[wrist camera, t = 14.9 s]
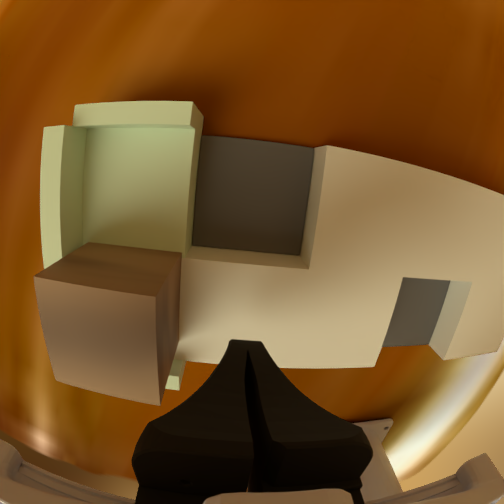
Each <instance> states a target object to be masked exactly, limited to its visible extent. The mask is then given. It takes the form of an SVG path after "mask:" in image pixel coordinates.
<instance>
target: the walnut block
mask: <svg viewBox="0 0 504 504" xmlns="http://www.w3.org/2000/svg"><path fill="white" fill-rule="evenodd" d="M181 261H182V253H181V252H172V251H163V250H154V249H146V248H137V247H128V246H119V245H111V244H102V243H93V242H88V243H86V244H84V245H83V246H81V247H79V248H78V249H76V250H74V251H73V252H71V253H70V254H68V255H66V256H65V257H63V258H61V259H60V260H58V261H57V262H55V263H53V264H52V265H50V266H49V267H47V268H46V269H44V270H43V271H41V272H40V273H38V274H36V275H35V276H34V283H35V290H36V297H37V303H38V309H39V314H40V319H41V324H42V329H43V333H44V338H45V342H46V346H47V350H48V354H49V358H50V361H51V365H52V369H53V372H54V375H55V379H56V380H57V381H60V382H63V383H66V384H69V385H73V386H76V387H80V388H83V389H87V390H90V391H94V392H98V393H102V394H106V395H110V396H114V397H119V398H123V399H128V400H133V401H138V402H143V403H148V404H154V405H159V406H160V405H161V401H162V398H163V394H164V391H165V387H166V384H167V380H168V377H169V373H170V370H171V366H172V363H173V360H174V356H175V353H176V349H177V346H178V343H179V309H180V281H181Z"/></svg>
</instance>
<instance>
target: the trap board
mask: <svg viewBox="0 0 504 504" xmlns="http://www.w3.org/2000/svg"><path fill="white" fill-rule="evenodd" d="M203 120H204V116H203V115H202V113H201V112H200V111H199V109H198V108H197V107H196V105H195V104H194V102H189V101H125V102H106V103H92V104H81V105H75V110H74V117H73V125H72V126H67V125H61V126H51V127H44V132H43V143H42V155H41V174H40V220H41V240H42V253H43V263H44V269H46V268H47V267H49V266H50V265H52V264H53V263H55V262H57V261H58V260H60V259H61V258H63V257H65V256H66V255H68V254H70V253H71V252H73V251H74V250H76V249H78V248H79V247H81V246H83V245H84V244H86V243H88V242H93V243H102V244H111V245H119V246H128V247H137V248H146V249H154V250H163V251H172V252H181V253H182V261H181V281H180V309H179V343H178V346H177V349H176V353H175V356H174V360H173V363H172V366H171V370H170V373H169V377H168V380H167V384H166V387H165V388H166V389H173V390H179V389H180V385H181V380H182V376H183V372H184V367H185V363H186V361H194V362H203V363H214V364H219V362H220V361H221V359H222V357H223V356H224V354H225V352H226V349H227V347H228V344H229V341H230V340H231V339H237V340H251V341H261V342H262V343H263V344H264V346H265V348H266V349H267V351H268V353H269V354H270V356H271V357H272V359H273V360H274V362H275V363H276V365H277V366H278V367H279V368H356V367H374V366H375V363H376V361H377V358H378V355H379V353H380V350H381V347H390V346H410V345H426V344H429V345H430V346H431V347H432V349H433V350H434V351H435V352H436V353H437V354H438V355H439V356H440V357H441V358H442V359H443V360H449V359H456V358H463V357H469V356H475V355H481V354H486V353H492V352H497V350H498V348H499V346H500V344H501V341H502V339H503V337H504V195H502V194H500V193H497V192H495V191H492V190H489V189H487V188H484V187H481V186H479V185H476V184H473V183H470V182H467V181H464V180H461V179H458V178H455V177H452V176H449V175H446V174H443V173H440V172H436V171H433V170H430V169H426V168H423V167H419V166H416V165H412V164H408V163H405V162H401V161H397V160H393V159H389V158H385V157H381V156H376V155H372V154H368V153H363V152H359V151H354V150H349V149H344V148H339V147H334V146H329V145H326V146H321V147H316V148H309V147H303V146H297V145H290V144H283V143H275V142H268V141H259V140H250V139H241V138H230V137H219V136H205V135H202V129H203ZM201 137H202V139H201ZM200 146H201V148H200ZM199 156H200V158H199ZM198 166H199V168H198ZM197 176H198V178H197ZM196 187H197V189H196ZM195 199H196V201H195ZM194 211H195V214H194ZM193 225H194V228H193ZM192 240H193V244H192Z"/></svg>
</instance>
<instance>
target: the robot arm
mask: <svg viewBox="0 0 504 504" xmlns="http://www.w3.org/2000/svg"><path fill="white" fill-rule="evenodd" d="M392 424H393V420H392V419H383V420H375V421H368V422H359V423H350V422H348V421H345V420H343V419H341V418H339V417H337V416H335V415H333V414H331V413H330V412H328V411H326V410H325V409H323V408H321V407H320V406H318V405H317V404H316V403H314V402H313V401H311V400H310V399H309V398H308V397H306V396H305V395H304V394H303V393H302V392H300V391H299V390H298V389H297V388H296V387H295V386H294V385H293V384H292V383H291V382H290V381H289V379H288V378H287V377H286V376H285V375H284V374H283V372H282V371H281V370H280V369H279V367H278V366H277V365H276V363H275V362H274V360H273V359H272V357H271V356H270V354H269V353H268V351H267V349H266V348H265V346H264V344H263V343H262V342H261V341H251V340H237V339H231V340H230V341H229V344H228V347H227V349H226V352H225V354H224V356H223V357H222V359H221V361H220V362H219V364H218V366H217V367H216V369H215V370H214V371H213V373H212V374H211V375H210V377H209V378H208V379H207V380H206V381H205V383H204V384H203V385H202V386H201V387H200V388H199V389H198V390H197V391H196V392H195V393H194V394H193V395H191V396H190V397H189V398H188V399H187V400H186V401H184V402H183V403H182V404H180V405H179V406H177V407H176V408H174V409H173V410H171V411H170V412H168V413H166V414H165V415H163V416H161V417H159V418H157V419H155V420H153V421H151V422H149V423H148V424H147V426H146V427H145V429H144V431H143V432H142V434H141V436H140V438H139V440H138V442H137V444H136V447H135V450H134V454H133V457H132V467H133V469H134V472H135V475H136V478H137V480H138V483H139V488H138V492H137V496H136V500H132V499H128V498H125V497H120V496H117V495H113V494H110V493H106V492H103V491H100V490H96V489H93V488H90V487H87V486H84V485H81V484H78V483H75V482H73V481H70V480H67V479H65V478H62V477H60V476H57V475H55V474H52V473H50V472H48V471H45V470H43V469H41V468H39V467H37V466H34V465H32V464H30V463H28V462H26V461H24V460H23V459H22V457H21V455H20V454H19V452H18V451H17V450H16V449H15V448H14V447H13V446H12V445H10V444H9V443H7V442H5V441H3V440H1V439H0V504H496V503H497V502H498V501H499V500H500V499H501V498H502V497H503V496H504V479H503V477H502V476H501V474H500V473H499V471H498V470H497V468H496V467H495V465H494V464H493V462H492V461H491V460H490V458H489V457H488V455H487V454H486V453H483V454H481V455H479V456H477V457H475V458H473V459H470V460H468V461H467V462H465V463H464V464H463V465H462V466H461V467H460V468H459V469H458V471H457V472H456V474H454V475H452V476H449V477H446V478H444V479H441V480H439V481H436V482H433V483H430V484H428V485H424V486H422V487H419V488H415V489H412V490H409V491H406V492H403V491H402V489H401V486H400V484H399V482H398V479H397V477H396V475H395V473H394V470H393V468H392V466H391V464H390V461H389V459H388V457H387V455H386V453H385V450H384V448H383V446H382V444H381V443H382V441H383V440H384V438H385V436H386V435H387V433H388V431H389V430H390V428H391V426H392ZM247 487H248V492H246V491H247Z"/></svg>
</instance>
